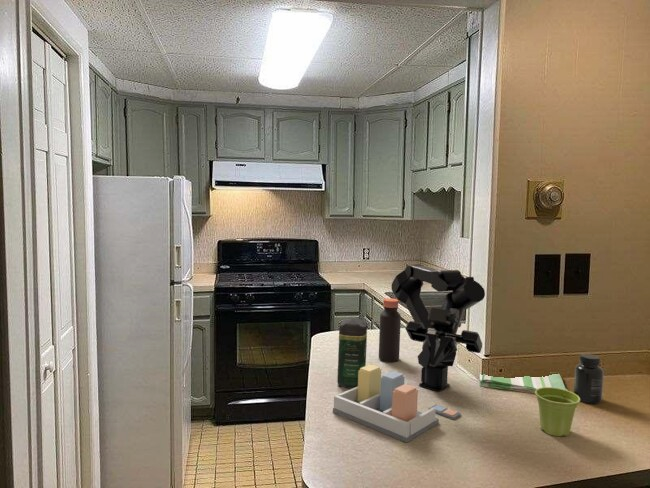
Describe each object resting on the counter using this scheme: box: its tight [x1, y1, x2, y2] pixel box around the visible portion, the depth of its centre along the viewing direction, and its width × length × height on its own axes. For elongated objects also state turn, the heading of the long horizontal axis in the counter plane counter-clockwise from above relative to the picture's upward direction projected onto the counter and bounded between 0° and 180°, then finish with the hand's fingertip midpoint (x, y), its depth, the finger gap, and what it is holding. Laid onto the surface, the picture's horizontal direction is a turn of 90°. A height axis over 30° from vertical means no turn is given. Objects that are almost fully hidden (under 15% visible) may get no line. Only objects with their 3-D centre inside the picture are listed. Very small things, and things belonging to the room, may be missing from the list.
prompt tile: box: [428, 404, 462, 420], centre depth 123 cm, size 7×4×1 cm, turn 47°
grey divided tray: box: [332, 386, 440, 443], centre depth 119 cm, size 22×14×4 cm, turn 47°
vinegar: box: [378, 297, 402, 363], centre depth 162 cm, size 7×7×20 cm
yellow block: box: [358, 363, 382, 402], centre depth 126 cm, size 4×5×9 cm
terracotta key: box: [392, 383, 419, 422], centre depth 113 cm, size 4×5×9 cm
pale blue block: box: [380, 371, 405, 411], centre depth 121 cm, size 4×5×9 cm
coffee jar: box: [336, 317, 368, 389], centre depth 141 cm, size 10×8×19 cm
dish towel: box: [479, 373, 569, 394], centre depth 146 cm, size 18×23×3 cm
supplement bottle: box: [573, 353, 605, 405], centre depth 133 cm, size 7×7×12 cm
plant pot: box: [534, 387, 581, 437], centre depth 114 cm, size 9×9×9 cm
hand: (432, 365), depth 121 cm, fingers closed
